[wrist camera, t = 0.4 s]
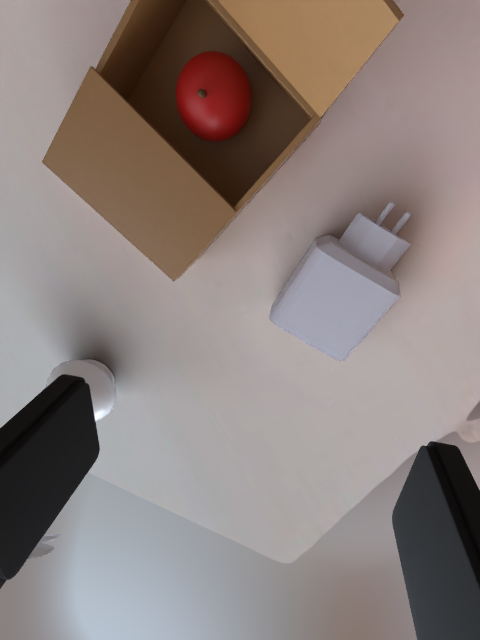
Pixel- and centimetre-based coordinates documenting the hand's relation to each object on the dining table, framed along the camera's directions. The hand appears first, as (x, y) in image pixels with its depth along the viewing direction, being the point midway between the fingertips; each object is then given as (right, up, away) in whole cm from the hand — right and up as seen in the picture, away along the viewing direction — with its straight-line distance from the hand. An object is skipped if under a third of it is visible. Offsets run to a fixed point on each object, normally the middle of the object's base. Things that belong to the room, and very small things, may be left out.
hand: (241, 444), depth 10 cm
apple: (-2, +23, +21) cm, 31 cm away
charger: (+11, +9, +26) cm, 30 cm away
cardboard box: (-4, +21, +23) cm, 32 cm away
